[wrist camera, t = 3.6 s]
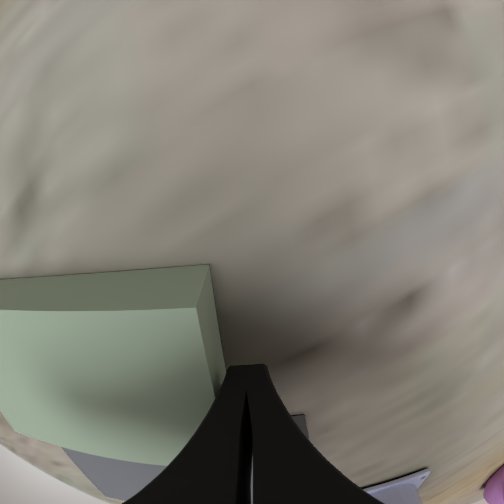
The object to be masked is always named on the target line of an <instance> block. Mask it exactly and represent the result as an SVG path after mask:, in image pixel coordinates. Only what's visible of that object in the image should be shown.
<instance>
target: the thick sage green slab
mask: <svg viewBox="0 0 504 504" xmlns="http://www.w3.org/2000/svg"><path fill="white" fill-rule="evenodd" d="M225 375H226V368H225V362H224V356H223V351H222V345H221V339H220V333H219V326H218V320H217V314H216V307H215V301H214V294H213V287H212V280H211V273H210V266H209V264H207V265H194V266H182V267H169V268H156V269H143V270H130V271H117V272H103V273H89V274H75V275H61V276H46V277H31V278H16V279H0V411H1V413H2V414H3V416H4V417H5V418H6V420H7V421H8V423H9V424H10V425H11V427H12V428H13V429H14V431H15V432H17V433H20V434H23V435H26V436H28V437H31V438H34V439H37V440H40V441H43V442H46V443H50V444H53V445H56V446H60V447H63V448H67V449H71V450H75V451H79V452H83V453H87V454H92V455H96V456H101V457H106V458H112V459H117V460H123V461H130V462H137V463H144V464H153V465H162V466H168V465H169V464H170V463H171V462H172V460H173V459H174V458H175V457H176V456H177V455H178V454H179V453H180V451H181V450H182V449H183V448H184V446H185V445H186V444H187V443H188V441H189V440H190V439H191V437H192V436H193V435H194V433H195V432H196V430H197V429H198V427H199V426H200V424H201V422H202V421H203V419H204V418H205V416H206V414H207V413H208V411H209V409H210V407H211V405H212V404H213V402H214V400H215V398H216V396H217V394H218V392H219V390H220V387H221V385H222V383H223V380H224V378H225Z"/></svg>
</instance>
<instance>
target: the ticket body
mask: <svg viewBox="0 0 504 504" xmlns="http://www.w3.org/2000/svg"><path fill="white" fill-rule="evenodd" d="M291 417H292V419H293V420H294V421H295V423H296V424H297V426H298V427H299V428H300V430H301V431H302V432H303V434H304V435H305V436H306V437H307V439H308V440H309V436H308V431H307V426H306V421H305V417H304V415H298V416H291ZM62 449H63V450H64V451H65V452H66V453H67V455H68V456H69V457H70V458H71V460H72V461H73V462H74V463H75V464H76V465H77V467H78V468H79V469H80V470H81V471H82V472H83V473H84V474H85V475H86V477H87V478H88V479H89V480H90V481H91V482H92V483H93V484H94V485H95V486H96V487H97V488H98V489H99V490H100V491H101V492H102V493H103V494H104V495H105V496H107V497H111V498H116V499H120V500H125V501H127V500H128V499H130V498H131V497H133V496H134V495H135V494H137V493H138V492H139V491H140V490H142V489H143V488H144V487H145V486H146V485H147V484H149V483H150V482H151V481H152V480H153V479H154V478H156V477H157V476H158V475H159V474H160V473H161V472H162V471H163V470H164V469H165V468H166V467H167V466H162V465H153V464H144V463H137V462H130V461H123V460H117V459H112V458H106V457H101V456H96V455H92V454H87V453H83V452H79V451H75V450H71V449H67V448H63V447H62ZM251 504H253V458H252V473H251Z"/></svg>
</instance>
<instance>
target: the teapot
mask: <svg viewBox="0 0 504 504" xmlns="http://www.w3.org/2000/svg"><path fill="white" fill-rule="evenodd" d="M483 496H484V498H485V500H486V501H487V502H488V503H489V504H504V465H503V466H502V467H501V468H500V469H499V470H498V471H497V472H496V473H495V474H494V475H493V476H492V477H491V478H490V479H489V480H488V481H487V483H486V486H485V489H484V493H483Z"/></svg>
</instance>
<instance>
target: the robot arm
mask: <svg viewBox="0 0 504 504" xmlns="http://www.w3.org/2000/svg"><path fill="white" fill-rule="evenodd" d="M252 458H253V504H422V501H421V499H420V496H419V494H418V491H417V489H418V488H419V487H420V486H421V484H422V483H423V482H424V480H425V479H426V478H427V476H428V475H429V474H430V470H429V469H424V470H422V471H419V472H417V473H414V474H411V475H408V476H405V477H402V478H399V479H396V480H393V481H390V482H387V483H383V484H380V485H376V486H373V487H369V488H365V489H361V488H360V487H358V486H357V485H356V484H354V483H353V482H352V481H351V480H349V479H348V478H347V477H345V476H344V475H343V474H342V473H341V472H340V471H339V470H338V469H336V468H335V467H334V466H333V465H332V464H331V463H330V462H329V461H328V460H327V459H326V458H325V457H324V456H323V455H322V454H321V453H320V452H319V451H318V450H317V449H316V448H315V447H314V446H313V444H312V443H311V442H310V441H309V440H308V439H307V437H306V436H305V435H304V434H303V432H302V431H301V430H300V428H299V427H298V426H297V424H296V423H295V421H294V420H293V419H292V417H291V416H290V414H289V413H288V411H287V409H286V408H285V406H284V404H283V402H282V401H281V399H280V397H279V395H278V394H277V392H276V390H275V387H274V385H273V383H272V381H271V378H270V375H269V372H268V369H267V366H266V365H265V364H254V365H239V366H230V367H229V368H228V369H227V372H226V375H225V378H224V380H223V383H222V385H221V387H220V390H219V392H218V394H217V396H216V398H215V400H214V402H213V404H212V405H211V407H210V409H209V411H208V413H207V414H206V416H205V418H204V419H203V421H202V422H201V424H200V426H199V427H198V429H197V430H196V432H195V433H194V435H193V436H192V437H191V439H190V440H189V441H188V443H187V444H186V445H185V446H184V448H183V449H182V450H181V451H180V453H179V454H178V455H177V456H176V457H175V458H174V459H173V460H172V462H171V463H170V464H169V465H168V466H167V467H166V468H165V469H164V470H163V471H162V472H161V473H160V474H159V475H158V476H157V477H156V478H154V479H153V480H152V481H151V482H150V483H149V484H147V485H146V486H145V487H144V488H143V489H142V490H140V491H139V492H138V493H137V494H135V495H134V496H133V497H131V498H130V499H128V500H127V501H125V502H124V503H122V504H251V473H252Z"/></svg>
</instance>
